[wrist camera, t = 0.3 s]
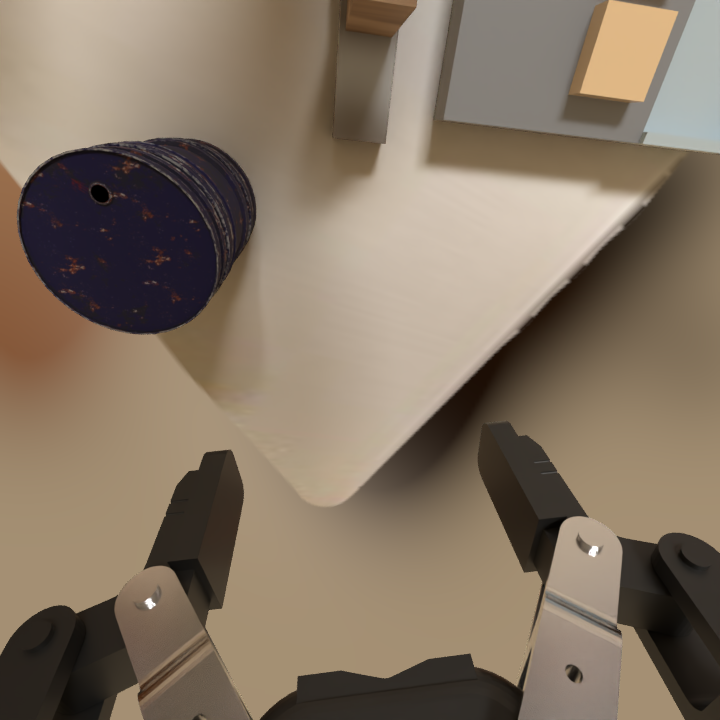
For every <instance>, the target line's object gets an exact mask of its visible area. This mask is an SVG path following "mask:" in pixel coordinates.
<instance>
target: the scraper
mask: <svg viewBox="0 0 720 720" xmlns="http://www.w3.org/2000/svg"><path fill="white" fill-rule="evenodd" d="M416 5H417V0H340V14H339V32H338V50H337V67H336V85H335V103H334V120H333V138H338V139H347V140H355V141H364V142H373V143H382V144H385V143H386V134H387V126H388V117H389V108H390V100H391V91H392V83H393V74H394V65H395V57H396V48H397V39H398V31H399V28H400V27H401V26H402V24H403V23H404V22H405V21H406V19H407V18H408V17H409V16H410V14H411V13H412V12H413V11H414V10H415V8H416Z"/></svg>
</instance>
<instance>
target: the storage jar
mask: <svg viewBox="0 0 720 720" xmlns="http://www.w3.org/2000/svg"><path fill="white" fill-rule="evenodd" d="M255 219H256V202H255V196H254V193H253V189H252V187H251V184H250V182H249V180H248V178H247V176H246V175H245V173H244V171H243V170H242V169H241V168H240V166H239V165H238V164H237V163H236V162H235V161H234V160H233V159H232V158H231V157H230V156H229V155H228V154H226V153H225V152H224V151H222V150H221V149H219V148H217V147H215V146H213V145H212V144H209V143H206V142H203V141H200V140H195V139H183V138H156V139H151V140H147V141H144V142H141V141H123V142H118V143H107V144H101V145H96V146H92V147H89V148H82V149H77V150H71V151H66V152H63V153H61V154H58V155H56V156H53V157H51V158H50V159H48V160H47V161H45V162H44V163H42V164H41V165H39V166H38V168H37V169H36V170H35V171H34V172H33V173H32V174H31V175H30V176H29V178H28V180H27V181H26V183H25V185H24V187H23V188H22V192H21V195H20V198H19V201H18V210H17V224H18V233H19V237H20V241H21V244H22V248H23V250H24V252H25V255H26V257H27V259H28V262H29V263H30V265H31V266H32V268H33V270H34V272H35V273H36V275H37V276H38V277H39V279H40V280H41V281H42V283H43V284H44V285H45V286H46V288H47V289H48V290H49V291H50V292H51V293H52V294H53V295H54V296H55V297H56V298H57V299H58V300H60V301H61V302H62V303H63V304H64V305H66V306H67V307H68V308H70V309H71V310H72V311H74V312H75V313H77V314H79V315H80V316H82V317H83V318H85V319H87V320H89V321H91V322H93V323H96V324H98V325H100V326H103V327H106V328H109V329H111V330H115V331H120V332H125V333H130V334H131V333H132V334H141V335H142V334H157V333H163V332H168V331H171V330H174V329H177V328H179V327H181V326H183V325H185V324H187V323H188V322H190V321H191V320H193V319H194V318H195V317H196V316H198V315H199V314H200V312H201V311H202V310H203V309H204V308H205V307H206V305H207V304H208V302H209V301H210V299H211V298H212V297H213V296H214V294H215V293H216V292H217V291H218V290H219V288H220V286H221V285H222V283H223V281H224V280H225V279H226V277H227V275H228V273H229V272H230V270H231V267H232V264H233V263H234V261H235V260H236V259H237V258H238V256H239V255H240V254H241V252H242V251H243V249H244V247H245V246H246V244H247V242H248V240H249V237H250V235H251V233H252V230H253V227H254V224H255Z"/></svg>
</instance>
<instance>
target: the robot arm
mask: <svg viewBox="0 0 720 720" xmlns="http://www.w3.org/2000/svg"><path fill="white" fill-rule="evenodd" d="M478 466H479V471H480V474H481V477H482V480H483V482H484V484H485V486H486V488H487V491H488V493H489V495H490V497H491V500H492V502H493V504H494V506H495V508H496V511H497V513H498V515H499V518H500V520H501V522H502V524H503V526H504V529H505V531H506V533H507V535H508V538H509V540H510V542H511V544H512V547H513V549H514V551H515V553H516V555H517V558H518V560H519V562H520V564H521V567H522V569H523V571H524V572H533V571H538V574H539V576H540V578H541V580H542V584H541V588H540V592H539V596H538V600H537V604H536V608H535V612H534V616H533V621H532V625H531V629H530V633H529V637H528V641H527V645H526V649H525V653H524V657H523V660H522V664H521V668H520V671H519V674H518V678H517V683H516V686H515V685H514V684H512V683H511V682H509V681H508V680H506V679H504V678H503V677H501V676H499V675H497V674H495V673H493V672H490V671H487V670H484V669H481V668H477V667H474V665H473V661H472V658H471V654H464V655H457V656H449V657H441V658H434V659H428V660H426V661H424V662H422V663H419V664H417V665H415V666H413V667H411V668H409V669H407V670H405V671H403V672H401V673H399V674H396V675H394V676H392V677H390V678H386V679H384V678H377V677H372V676H366V675H361V674H355V673H350V672H345V671H334V672H327V673H319V674H311V675H304V676H298V682H297V690H296V691H294V692H292V693H290V694H289V695H287V696H286V697H284V698H283V699H281V700H280V701H278V702H277V703H276V704H275V705H274V706H273V707H271V708H270V709H269V710H268V711H267V712H266V713H265V714H264V715H263V716H262V717H261V719H260V720H617V712H618V698H619V684H620V669H621V655H622V633H621V631H620V630H618V629H617V623H619V624H623V625H628V626H632V627H634V629H635V631H636V632H637V634H638V636H639V638H640V639H641V641H642V643H643V645H644V647H645V649H646V650H647V652H648V654H649V656H650V658H651V659H652V661H653V663H654V664H655V666H656V668H657V670H658V672H659V674H660V676H661V677H662V679H663V681H664V683H665V684H666V686H667V688H668V690H669V692H670V694H671V695H672V697H673V699H674V701H675V703H676V704H677V706H678V708H679V710H680V711H681V713H682V715H683V717H684V719H685V720H720V553H719V552H717V551H716V550H715V549H714V548H713V547H711V546H710V545H709V544H707V543H705V542H704V541H702V540H700V539H698V538H696V537H693V536H691V535H687V534H682V533H669V534H666V535H664V536H663V537H661V539H660V540H659V542H658V544H654V543H648V542H642V541H637V540H631V539H626V538H622V537H618V536H616V535H615V534H614V533H613V532H612V531H611V530H610V529H609V528H608V527H606V526H605V525H603V524H602V523H600V522H598V521H596V520H594V519H591V518H589V517H588V516H587V515H586V513H585V512H584V510H583V509H582V507H581V506H580V504H579V503H578V501H577V500H576V498H575V497H574V495H573V494H572V492H571V491H570V489H569V488H568V486H567V485H566V483H565V482H564V480H563V479H562V477H561V476H560V474H559V473H557V470H556V468H555V467H554V465H553V464H552V462H550V459H549V458H548V456H547V455H546V453H545V452H544V450H543V449H542V447H541V446H540V445H539V444H537V443H536V442H535V441H533V440H532V439H531V438H529V437H528V436H527V435H525V436H518V435H517V434H516V432H515V430H514V429H513V427H512V426H511V424H510V423H509V422H508V421H501V422H493V423H492V422H491V423H484V424H483V425H482V430H481V437H480V444H479V452H478ZM243 499H244V490H243V483H242V480H241V476H240V473H239V471H238V467H237V464H236V461H235V458H234V455H233V452H232V451H231V450H223V451H214V452H206V453H205V454H204V456H203V459H202V462H201V465H200V467H199V470H196V471H189V472H188V473H187V474H186V475H185V476H184V478H183V479H182V480H181V481H180V482H179V483H178V485H177V486H176V489H175V491H174V494H173V496H172V499H171V504H169V507H168V509H167V512H166V517H164V520H163V522H162V525H161V527H160V530H159V532H158V535H157V537H156V540H155V543H154V545H153V548H152V550H151V553H150V556H149V558H148V561H147V563H146V565H145V568H144V570H143V571H141V572H139V573H138V574H136V575H135V576H134V577H132V578H131V579H130V580H129V581H128V582H127V583H126V584H125V586H124V587H123V588H122V590H121V591H120V593H119V595H117V596H116V597H114V598H111V599H109V600H107V601H105V602H102V603H100V604H98V605H95V606H93V607H91V608H88V609H86V610H84V611H81V612H79V613H75V612H74V611H73V610H72V609H71V608H70V607H67V606H62V605H59V606H53V607H49V608H47V609H44V610H42V611H40V612H38V613H37V614H35V615H34V616H32V617H31V618H29V619H28V620H27V621H26V622H25V623H23V624H22V625H21V626H20V627H19V628H18V629H17V630H16V632H15V633H14V634H13V635H12V637H11V638H10V639H9V641H8V643H7V644H6V646H5V648H4V650H3V652H2V654H1V655H0V720H110V716H111V713H112V710H113V706H114V703H115V700H116V697H117V693H119V692H121V691H123V690H125V689H127V688H129V687H131V686H133V685H135V684H137V683H139V687H140V692H139V693H138V702H139V706H140V710H141V713H142V716H143V719H144V720H253V718H252V716H251V714H250V712H249V710H248V709H247V706H246V704H245V703H244V701H243V699H242V697H241V695H240V693H239V691H238V689H237V688H236V686H235V684H234V682H233V680H232V678H231V676H230V674H229V672H228V670H227V668H226V666H225V665H224V663H223V661H222V659H221V657H220V655H219V653H218V651H217V649H216V647H215V645H214V643H213V642H212V640H211V638H210V636H209V634H208V632H207V630H206V628H205V624H206V620H207V615H208V611H209V610H212V609H221V608H222V606H223V601H224V596H225V591H226V585H227V581H228V576H229V570H230V566H231V560H232V556H233V551H234V546H235V540H236V535H237V531H238V525H239V520H240V515H241V510H242V505H243Z"/></svg>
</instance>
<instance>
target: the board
mask: <svg viewBox="0 0 720 720" xmlns="http://www.w3.org/2000/svg"><path fill="white" fill-rule="evenodd" d="M605 1H607V0H453V6H452V12H451V18H450V24H449V30H448V36H447V42H446V48H445V54H444V60H443V66H442V72H441V78H440V84H439V90H438V96H437V102H436V108H435V114H434V120H437V121H445V122H453V123H462V124H470V125H478V126H486V127H494V128H503V129H511V130H519V131H527V132H536V133H544V134H552V135H560V136H568V137H577V138H585V139H593V140H601V141H609V142H621V143H639V141H640V138H641V136H642V133H643V131H644V128H645V126H646V123H647V121H648V118H649V116H650V113H651V111H652V108H653V106H654V103H655V101H656V98H657V96H658V93H659V91H660V88H661V86H662V83H663V81H664V78H665V76H666V73H667V71H668V68H669V66H670V63H671V61H672V58H673V56H674V53H675V51H676V48H677V46H678V43H679V41H680V38H681V36H682V33H683V31H684V28H685V26H686V23H687V21H688V18H689V16H690V13H691V11H692V8H693V6H694V3H695V1H696V0H614V1H620V2H626V3H632V4H638V5H644V6H649V7H655V8H661V9H667V10H673V11H678V14H677V17H676V20H675V22H674V25H673V27H672V30H671V33H670V35H669V38H668V40H667V43H666V45H665V48H664V51H663V53H662V56H661V58H660V61H659V64H658V66H657V69H656V71H655V74H654V76H653V79H652V82H651V84H650V87H649V89H648V92H647V94H646V97H645V100H644V102H635V103H627V102H619V101H612V100H605V99H597V98H590V97H583V96H575V95H568V94H569V90H570V87H571V84H572V81H573V77H574V74H575V71H576V67H577V64H578V61H579V58H580V54H581V51H582V48H583V44H584V41H585V38H586V35H587V31H588V28H589V25H590V21H591V18H592V15H593V12H594V8H595V6H596V5H598V4H600V3H603V2H605Z"/></svg>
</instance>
